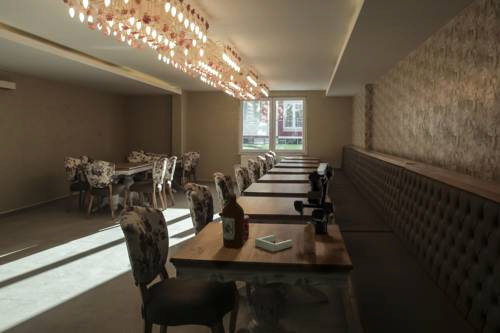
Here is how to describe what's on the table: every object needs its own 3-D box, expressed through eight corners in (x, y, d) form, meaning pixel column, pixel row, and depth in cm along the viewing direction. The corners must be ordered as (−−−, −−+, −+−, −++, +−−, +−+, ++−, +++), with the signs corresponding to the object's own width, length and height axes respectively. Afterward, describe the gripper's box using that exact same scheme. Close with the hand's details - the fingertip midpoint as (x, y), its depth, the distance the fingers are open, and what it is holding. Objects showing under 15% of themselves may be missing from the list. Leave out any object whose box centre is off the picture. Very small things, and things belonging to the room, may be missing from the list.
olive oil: (230, 241, 192) (230, 191, 189) (248, 244, 186) (248, 193, 183) (217, 246, 183) (216, 194, 180) (235, 250, 177) (235, 196, 175)
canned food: (236, 240, 193) (235, 218, 192) (232, 235, 201) (232, 214, 200) (250, 238, 195) (250, 217, 194) (246, 234, 203) (246, 214, 202)
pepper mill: (311, 249, 178) (311, 220, 177) (316, 252, 173) (316, 223, 172) (301, 250, 176) (301, 221, 175) (306, 253, 172) (306, 224, 170)
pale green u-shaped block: (273, 240, 192) (273, 233, 192) (292, 246, 183) (292, 239, 183) (255, 245, 184) (255, 238, 184) (273, 251, 175) (273, 244, 175)
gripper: (294, 183, 186) (289, 210, 177) (334, 185, 180) (330, 213, 170) (297, 196, 194) (292, 223, 185) (335, 199, 188) (332, 226, 179)
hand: (311, 221), depth 179 cm, fingers open, 9 cm apart
